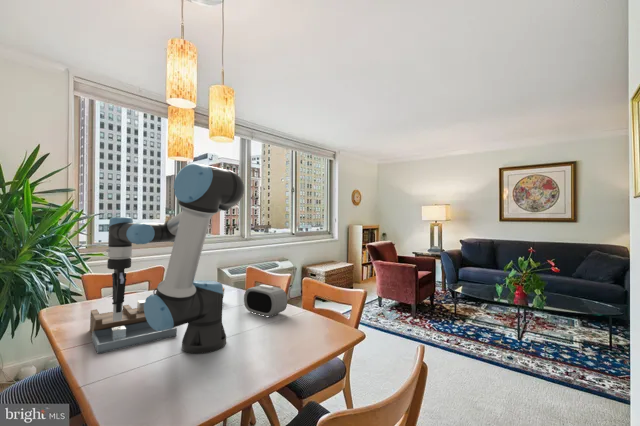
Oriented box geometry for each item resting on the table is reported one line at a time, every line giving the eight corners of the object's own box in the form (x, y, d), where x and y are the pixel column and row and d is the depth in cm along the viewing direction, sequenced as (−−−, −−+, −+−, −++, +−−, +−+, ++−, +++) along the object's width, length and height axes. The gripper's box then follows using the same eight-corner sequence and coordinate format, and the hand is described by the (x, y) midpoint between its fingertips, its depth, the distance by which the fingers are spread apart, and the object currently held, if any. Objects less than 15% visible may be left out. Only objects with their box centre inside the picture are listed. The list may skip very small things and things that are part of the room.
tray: (176, 335, 118) (176, 328, 118) (97, 353, 101) (97, 344, 101) (164, 324, 129) (164, 317, 129) (91, 339, 112) (92, 331, 112)
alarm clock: (242, 311, 150) (243, 284, 150) (256, 307, 158) (257, 281, 158) (273, 320, 139) (274, 291, 139) (287, 315, 147) (287, 287, 147)
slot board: (165, 327, 126) (166, 308, 126) (94, 342, 110) (95, 320, 110) (155, 318, 137) (156, 300, 137) (89, 330, 121) (90, 310, 121)
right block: (150, 310, 128) (150, 301, 128) (139, 312, 126) (139, 303, 126) (147, 308, 131) (147, 299, 131) (137, 310, 129) (137, 301, 129)
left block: (123, 336, 115) (125, 339, 112) (110, 338, 112) (112, 342, 109) (124, 325, 115) (126, 328, 112) (111, 327, 112) (113, 331, 109)
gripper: (105, 256, 117) (102, 317, 116) (110, 260, 107) (108, 327, 106) (127, 255, 122) (125, 314, 121) (135, 258, 112) (132, 322, 112)
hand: (117, 320), depth 114 cm, fingers closed
